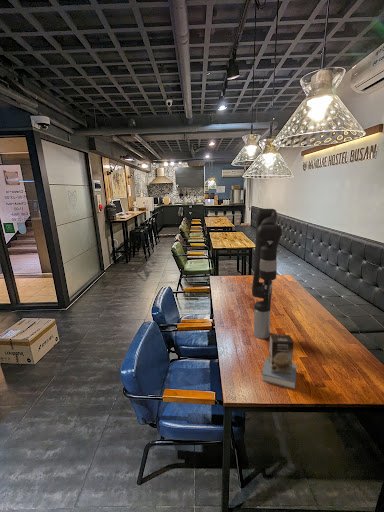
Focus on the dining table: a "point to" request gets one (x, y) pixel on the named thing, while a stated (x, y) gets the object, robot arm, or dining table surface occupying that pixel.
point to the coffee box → (280, 353)
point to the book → (279, 376)
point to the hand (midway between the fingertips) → (267, 300)
